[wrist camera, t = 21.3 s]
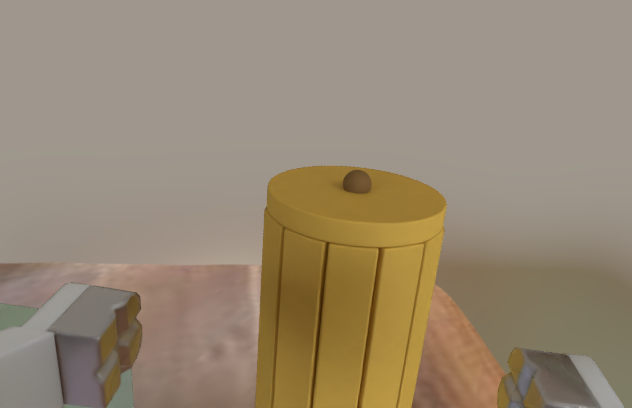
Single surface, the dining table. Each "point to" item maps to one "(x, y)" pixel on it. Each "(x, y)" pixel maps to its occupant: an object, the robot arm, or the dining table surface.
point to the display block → (120, 404)
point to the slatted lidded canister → (345, 287)
